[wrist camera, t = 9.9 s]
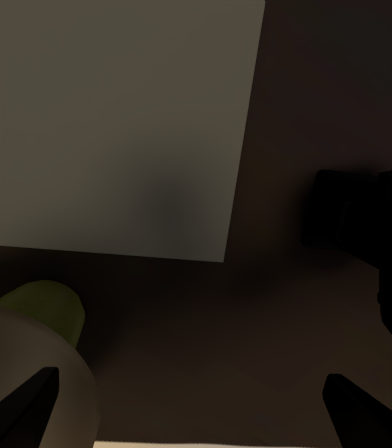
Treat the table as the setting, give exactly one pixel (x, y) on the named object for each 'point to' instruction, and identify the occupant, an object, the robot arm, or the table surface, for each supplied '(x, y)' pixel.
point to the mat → (123, 123)
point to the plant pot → (49, 307)
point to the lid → (68, 378)
